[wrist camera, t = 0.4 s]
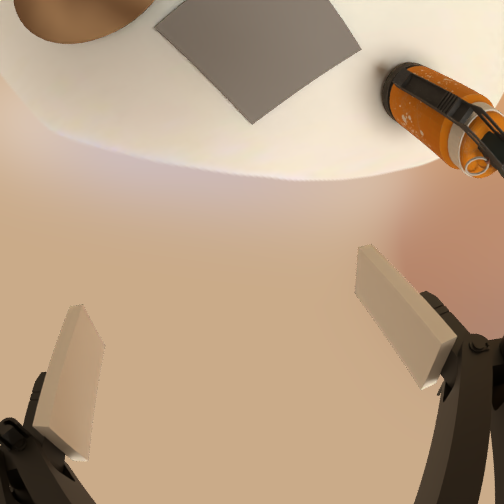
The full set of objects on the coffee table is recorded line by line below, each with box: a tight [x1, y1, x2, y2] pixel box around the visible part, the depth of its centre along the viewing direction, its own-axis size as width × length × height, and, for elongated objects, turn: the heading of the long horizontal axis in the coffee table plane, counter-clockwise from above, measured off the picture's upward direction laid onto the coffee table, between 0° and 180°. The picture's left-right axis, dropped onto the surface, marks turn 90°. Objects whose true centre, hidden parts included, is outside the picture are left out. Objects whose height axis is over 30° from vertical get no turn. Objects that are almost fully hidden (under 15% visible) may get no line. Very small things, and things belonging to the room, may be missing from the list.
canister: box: [383, 63, 504, 178], centre depth 26 cm, size 9×11×20 cm
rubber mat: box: [154, 0, 362, 124], centre depth 27 cm, size 16×16×1 cm
